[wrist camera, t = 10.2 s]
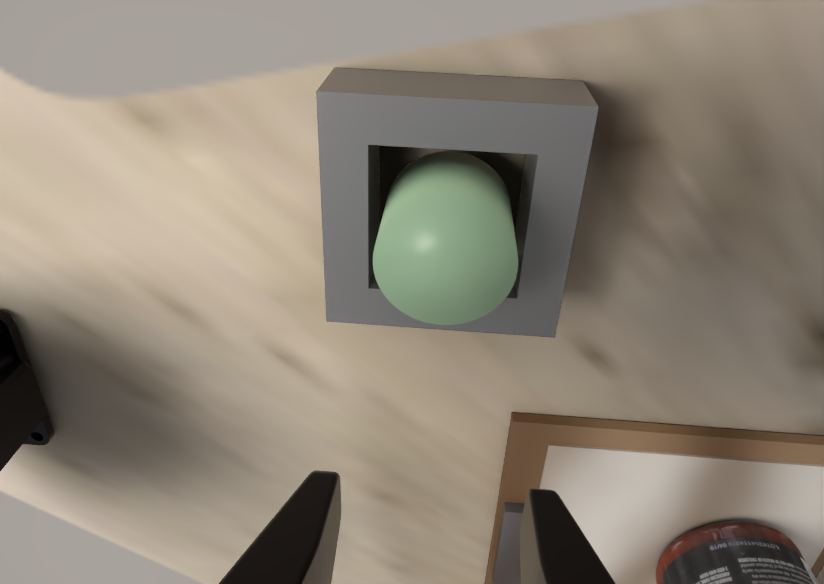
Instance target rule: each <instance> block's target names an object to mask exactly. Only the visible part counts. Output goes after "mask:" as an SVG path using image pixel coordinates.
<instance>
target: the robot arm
mask: <svg viewBox="0 0 824 584" xmlns="http://www.w3.org/2000/svg"><path fill="white" fill-rule="evenodd" d="M53 435H54V429H53V426H52V423H51V421H50V418H49V415H48V412H47V409H46V407H45V404H44V401H43V398H42V396H41V393H40V390H39V387H38V385H37V382H36V379H35V376H34V374H33V371H32V368H31V365H30V362H29V360H28V357H27V354H26V351H25V349H24V346H23V343H22V340H21V338H20V335H19V332H18V329H17V326H16V324H15V322H14V320H13V318H12V317H11V316H10V315H9V314H7V313H5V312H3V311H0V471H1V470H2V469H3V467H4V466H5V465H6V464H7V462H8V461H9V460H10V459H11V457H12V456H13V455H14V454H15V453H16V451H17V450H18V449H19V448H20V446H21V445H22V444H32V445H45V444H47V443H48V442H49V441H50V440H51V438H52V437H53ZM340 519H341V491H340V476H339V474H338V473H336V472H329V471H313V472H311V473H310V474H309V475H308V477H307V478H306V479H305V480H304V481H303V483H302V484H301V485H300V486H299V487H298V489H297V490H296V491H295V492H294V493H293V495H292V496H291V497H290V498H289V499H288V501H287V502H286V503H285V504H284V505H283V507H282V508H281V509H280V510H279V512H278V513H277V514H276V515H275V516H274V518H273V519H272V520H271V521H270V522H269V524H268V525H267V526H266V527H265V528H264V530H263V531H262V532H261V533H260V534H259V536H258V537H257V538H256V539H255V540H254V542H253V543H252V544H251V545H250V547H249V548H248V549H247V550H246V551H245V553H244V554H243V555H242V556H241V557H240V559H239V560H238V561H237V562H236V563H235V565H234V566H233V567H232V568H231V569H230V571H229V572H228V573H227V574H226V575H225V577H224V578H223V579H222V580H221V581H220V583H219V584H331V580H332V573H333V567H334V560H335V553H336V547H337V540H338V533H339V527H340ZM520 570H521V584H616V583H615V582H614V580H613V579H612V577H611V575H610V574H609V572H608V571H607V569H606V568H605V566H604V565H603V563H602V561H601V560H600V558H599V557H598V555H597V554H596V552H595V551H594V549H593V547H592V546H591V544H590V543H589V541H588V540H587V538H586V537H585V535H584V533H583V532H582V530H581V529H580V527H579V526H578V524H577V523H576V521H575V520H574V518H573V516H572V515H571V513H570V512H569V510H568V509H567V507H566V506H565V504H564V502H563V501H562V499H561V498H560V496H559V495H558V494H557V493H556V492H555V491H553V490H546V489H534V488H532V489H529V490H528V492H527V494H526V499H525V504H524V510H523V515H522V520H521V526H520Z"/></svg>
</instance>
